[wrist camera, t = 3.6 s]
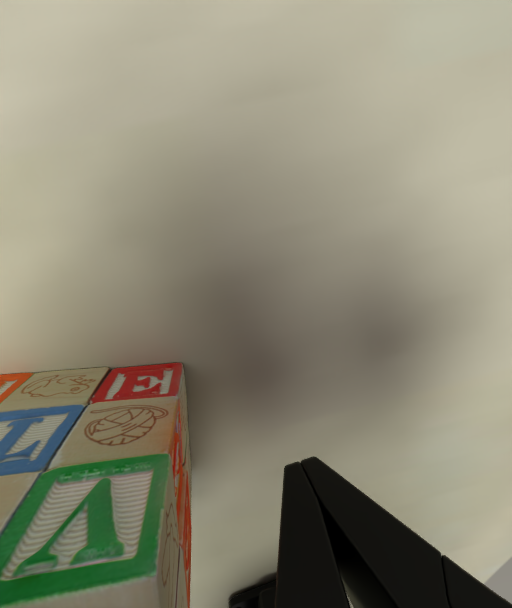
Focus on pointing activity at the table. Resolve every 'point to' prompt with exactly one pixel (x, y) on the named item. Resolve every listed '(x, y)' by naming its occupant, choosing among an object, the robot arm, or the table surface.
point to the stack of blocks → (95, 488)
